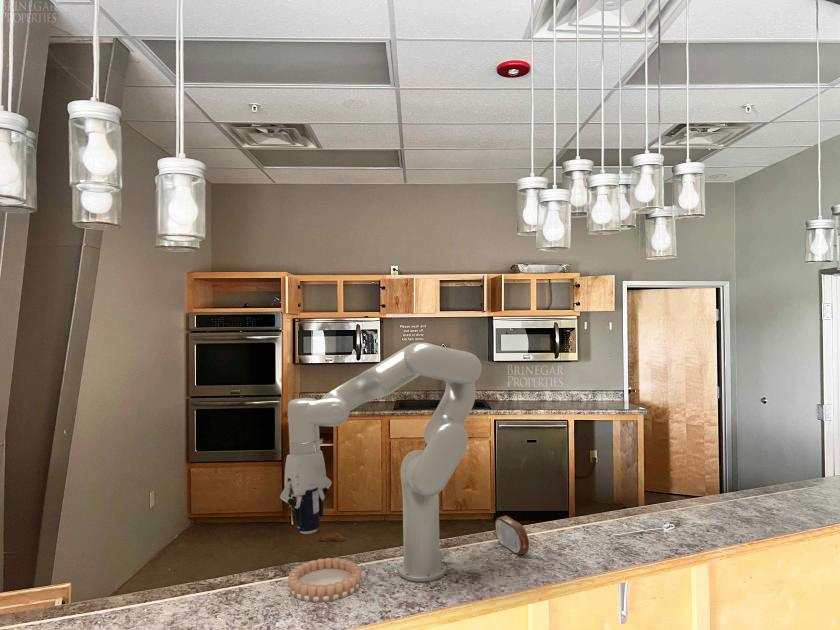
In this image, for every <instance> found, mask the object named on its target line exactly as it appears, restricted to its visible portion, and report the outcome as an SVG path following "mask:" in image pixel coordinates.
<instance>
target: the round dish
mask: <svg viewBox="0 0 840 630" xmlns="http://www.w3.org/2000/svg"><path fill="white" fill-rule="evenodd" d="M361 569H362V567H361V566H360V565H359V564H358V563H357V562H354V561H353V560H348V559H347V558H339V557H334V558H332V557H327V558H318V559H317V560H315V559H314V560H313V559H312V560H310V561H308V562H302V564H301V565H300V564H299V565H296V566H295V568H292V569H291V572H289V573H288V578H287V579H288V589H287V590H289V591H288V592H289V594H290V595H291V596H292V595H293V596H292V597H294V598H295V599H296V600H297V599H298V600H300V601H304V602H312V603H323V602H332V601H336V600H341V599H344V598H346V597H349V596H350V595H352V594H354V593H356V591H358V589H360V588H361V586H362V581H363V580H362V570H361Z"/></svg>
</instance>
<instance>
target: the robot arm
mask: <svg viewBox="0 0 840 630" xmlns="http://www.w3.org/2000/svg"><path fill="white" fill-rule="evenodd" d="M482 368H483V367H482V363H481V361H480V359H479V358H478V357H477V355H475V354H473V352H469V351H464V350H459V349H455V348H450V347H445V346H440V345H437V344H434V343H428V342H414V343H411V344H408V345H407V346H405V347H403V348H401V349H400V350H399V351H397V352H395V353H393V354H392V355H390V356H389V357H387V358H385V359H383V360H382V361H380V362H378V363H377V364H375V365H374V366H372V367H370V368H368V369H366V370H364V371H363V372H361V373H359V374H358V375H357V376H355V377H352V378H351V379H350V380H347V381H346V382H344V383H342V384H341V385H339V386H337V387H336V388H333V390H330V391H329V392H327V393H326V394H325V395H324V396H323V395H322V397H321V398H320V399H316V398H313V397H304V398H303V397H302V398H295V399H291V400H290V401H289V402H288V403H287V404H288V405H287V416H288V417H287V418H288V421H287V422H288V437H289V440H288V441H289V454H287V455H286V460H285V466H284V488H283V490H282V492H281V494H280V495H279V499H281V500H282V501H283V502H285V504H287V505H288V506H289V508H291V518H292V519H291V520H292V522H293V523H294V524H296V525H297V524H302V523H303V520H302V508H300V503H301V499H302V496H303V495H304V494H305V492H306V490H307V489H308V488H309V487H310V486H309V485H311V484H314V485H315V486H317V487H318V497H319V518H322V517H323V516H324V500H325V499H326V495H327V493H328V491H329V489H330V487H331V485H332V483H333V481H332V480H331V479H330V478H329V477H328V476H327V472H326V471H327V470H326V463H325V458H324V454H323V451H322V450H321V445H323V440H322V439H320V427H338V426H341V425H343V424H345V422H346V421H347V420H348V418H349V416H350V411H352V410H354V409H356V408H358V407H359V406H361V405H363V404H365V403H367V402H370V401H373V400H375V399H376V400H377V399H381V398H385V397H387V396H390V394H392V393H394V392H396V391H397V390H399V389H400V388H401V387H403V386H405V385H406V384H409V383H410V382H411V381H413V380H414V379H416V378H418V377H420V376H423V377H427V378H430V379H435V380H440V381H444V383H445V389H444V393H443V396H442V398H441V400H440V401H439V403H438V404H437V407H436V409H435V411H433V414H432V415H431V417H430V418H429V420H428V422H427V424H426V425H425V427H424V429H423V440H424V442H425V443H426V446H425V447H424V449H415V450H412V451H410V452H408V453H407V454H406V455H405V456H404V458H403V459H402V462H401V465H400V481H401V482H400V483H401V491H402V492H401V493H402V494H401V495H402V529H403V530H402V532H403V534H402V535H403V538H402V539H403V561H402V562H401V563H400V564H399V565H398V567H397V572H398V575H399V576H400V577H401V578H403V579H405V580H408V581H412V582H422V583H423V582H431V581H435V580H438V579H441V578H442V577H443V576H444V575H445V573H447V571H446V569H447V567H446V565H445V563H443V562H442V560H443V559H444V558H445V557H447V556H448V555H450V553H451V551H450V548H448V547H445V548H442V549H441V550H440V518H439V517H440V516H439V512H440V509H439V507H440V505H439V493H441V492H443V489H444V488H445V487H446V486H447V484H448V483H449V481H450V480H451V477H452V476H453V474H454V472H455V471H456V469H457V467H458V465H459V463H460V461H461V460H462V458H463V456H464V454H465V452H466V450H467V445H468V440H469V437H468V432H467V431H466V428H465V426H464V425H465V423H466V421H467V420H468V417H469V415H470V413H471V411H472V409H473V407H474V405H475V400H476V394H477V393H476V392H477V391H476V383H475V382H476V381H478V380H479V378H480V376H481V374H482ZM289 495H291V496H289ZM296 497H297V498H296Z"/></svg>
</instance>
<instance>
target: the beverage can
mask: <svg viewBox="0 0 840 630" xmlns="http://www.w3.org/2000/svg"><path fill="white" fill-rule="evenodd" d="M309 486H310V487H309V488H308V489H307V490H306V492H305V494H304V495H303V496H302V499H301V503H300V508H302V520H303V523H302V524H296V529H297V531H298V532H300V533H301V534H304V535H307V534H308V535H309V534H312V533H315V532H317V531H318V529H320V527H321V524H320V521H321V519H320V518H321V517H319V497H318V487H317V486H315V485H314V484H311V485H309ZM296 498H297V497H296Z"/></svg>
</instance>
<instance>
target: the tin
mask: <svg viewBox="0 0 840 630" xmlns="http://www.w3.org/2000/svg"><path fill="white" fill-rule="evenodd" d="M494 523H495V524H494V525H495V526H494V527H495V535H496V538H497V540H498V542H499V544H500V545H501V546H503V547H504V548H506V549H507V550H508V549H509V550H508V551H509V552H511V553H513V554H514V555H517V556H520V555H524V554H528V552H529V549H530V541H529V536H528V534H527V531H526V529H525V528H524V526H523V525H522V524H521V523H520V522H518V521H516V520H514V519H513V518H511V517H509V516H507V515H502V516H499V517H497V518H496V520H495V522H494Z"/></svg>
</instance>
